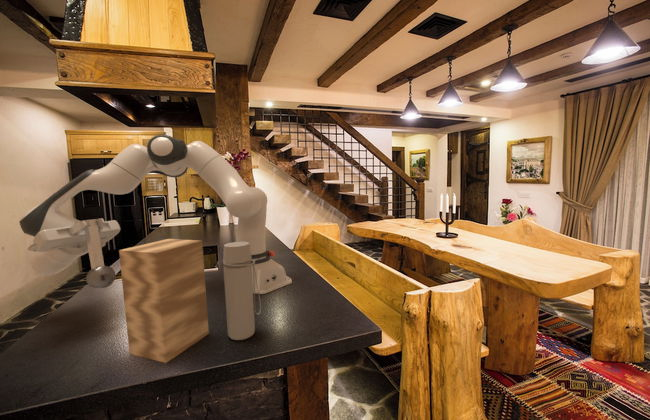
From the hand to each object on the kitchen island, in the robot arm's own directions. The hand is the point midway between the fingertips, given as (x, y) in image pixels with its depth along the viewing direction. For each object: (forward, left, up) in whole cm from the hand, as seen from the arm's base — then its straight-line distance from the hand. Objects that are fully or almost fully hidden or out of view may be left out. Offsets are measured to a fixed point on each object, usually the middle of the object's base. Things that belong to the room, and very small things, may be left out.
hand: (94, 221), depth 85 cm
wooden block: (-13, +22, -31) cm, 40 cm away
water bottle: (-29, +30, -32) cm, 53 cm away
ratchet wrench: (+1, -1, -10) cm, 10 cm away
